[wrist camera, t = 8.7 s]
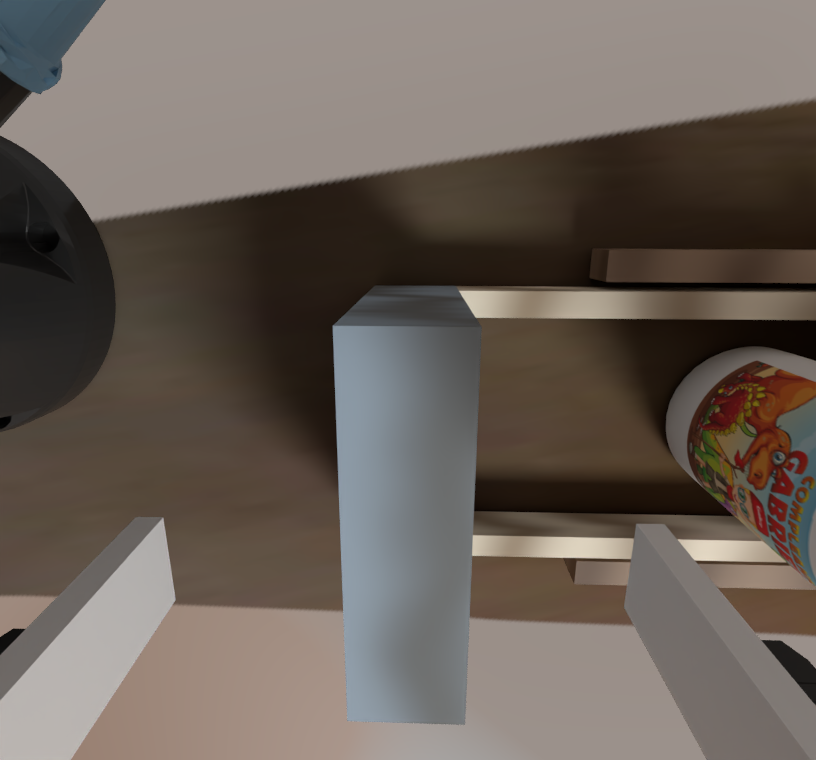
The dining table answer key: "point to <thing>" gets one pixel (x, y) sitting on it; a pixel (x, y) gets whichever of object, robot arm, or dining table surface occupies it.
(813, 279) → the dark wooden tray
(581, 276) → the dining table surface
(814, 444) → the milk bottle
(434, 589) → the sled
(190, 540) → the dining table surface
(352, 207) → the dining table surface
